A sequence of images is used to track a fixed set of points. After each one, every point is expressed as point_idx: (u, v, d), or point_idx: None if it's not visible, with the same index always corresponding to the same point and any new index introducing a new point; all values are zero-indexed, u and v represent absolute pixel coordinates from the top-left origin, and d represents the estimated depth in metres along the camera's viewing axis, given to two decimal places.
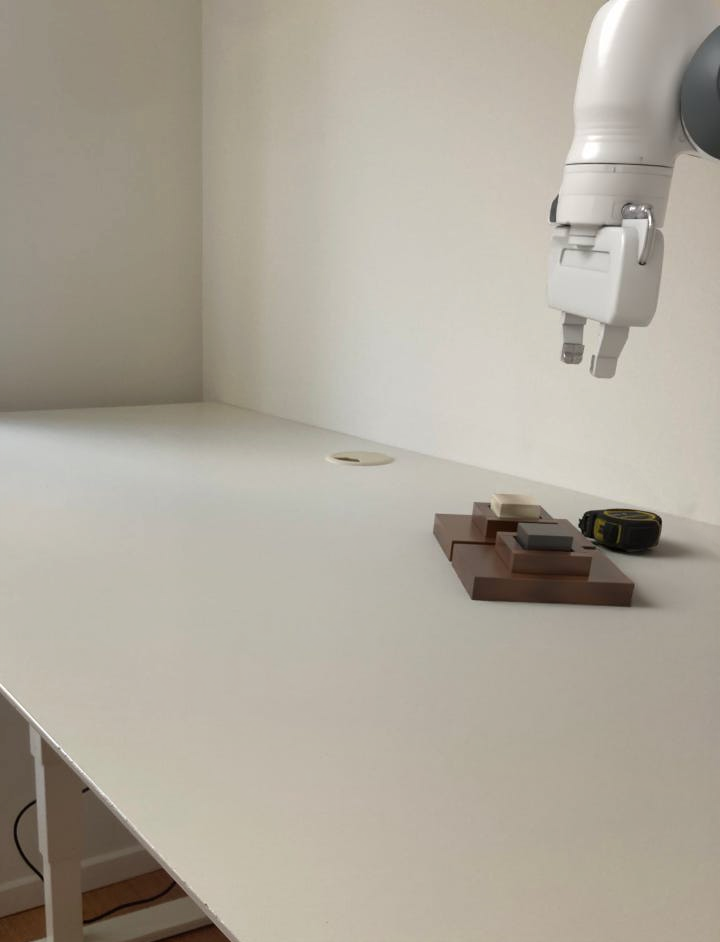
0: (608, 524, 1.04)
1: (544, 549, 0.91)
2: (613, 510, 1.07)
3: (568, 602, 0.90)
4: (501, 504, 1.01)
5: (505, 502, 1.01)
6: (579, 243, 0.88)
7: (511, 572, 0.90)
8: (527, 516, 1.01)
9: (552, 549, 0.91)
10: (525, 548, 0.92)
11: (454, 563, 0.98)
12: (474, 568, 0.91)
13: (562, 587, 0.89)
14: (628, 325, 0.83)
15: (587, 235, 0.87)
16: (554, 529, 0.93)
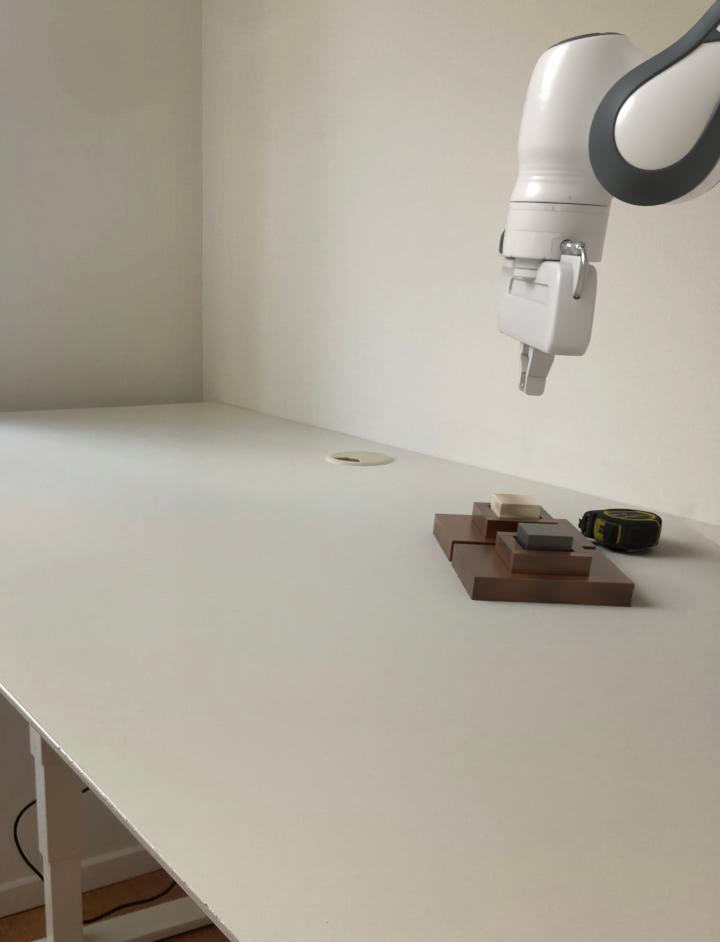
0: (608, 524, 1.04)
1: (544, 549, 0.91)
2: (613, 510, 1.07)
3: (568, 602, 0.90)
4: (501, 504, 1.01)
5: (505, 502, 1.01)
6: (522, 275, 0.93)
7: (511, 572, 0.90)
8: (527, 516, 1.01)
9: (552, 549, 0.91)
10: (525, 548, 0.92)
11: (454, 563, 0.98)
12: (474, 568, 0.91)
13: (562, 587, 0.89)
14: (564, 354, 0.88)
15: (529, 268, 0.93)
16: (554, 529, 0.93)
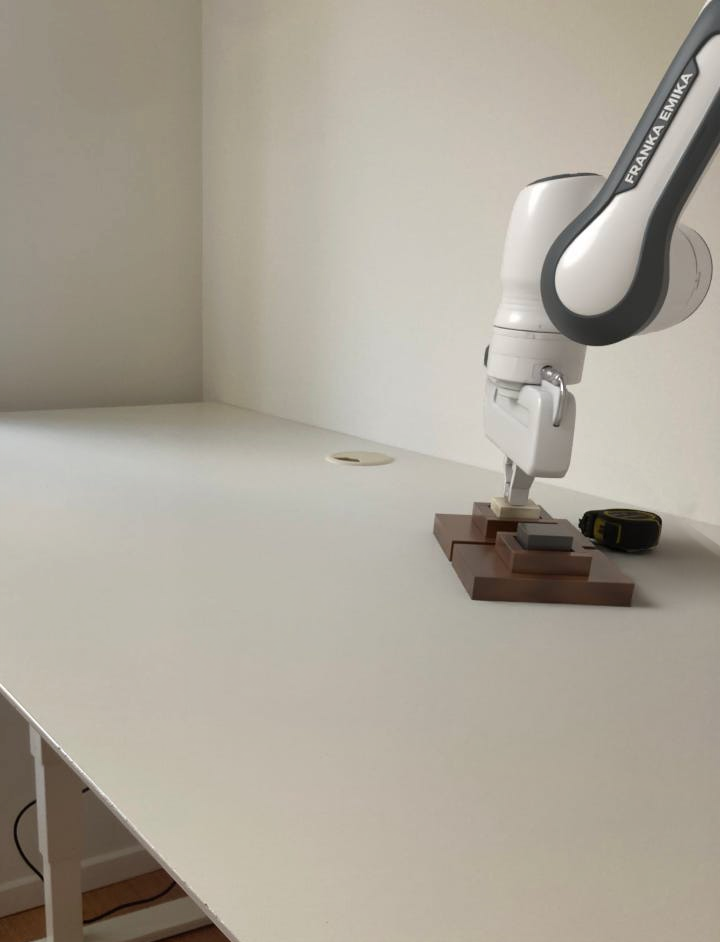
0: (608, 524, 1.04)
1: (544, 549, 0.91)
2: (613, 510, 1.07)
3: (568, 602, 0.90)
4: (500, 508, 1.01)
5: (505, 505, 1.01)
6: (505, 395, 0.97)
7: (511, 572, 0.90)
8: None
9: (552, 549, 0.91)
10: (525, 548, 0.92)
11: (454, 563, 0.98)
12: (474, 568, 0.91)
13: (562, 587, 0.89)
14: (545, 477, 0.92)
15: (512, 389, 0.97)
16: (554, 529, 0.93)
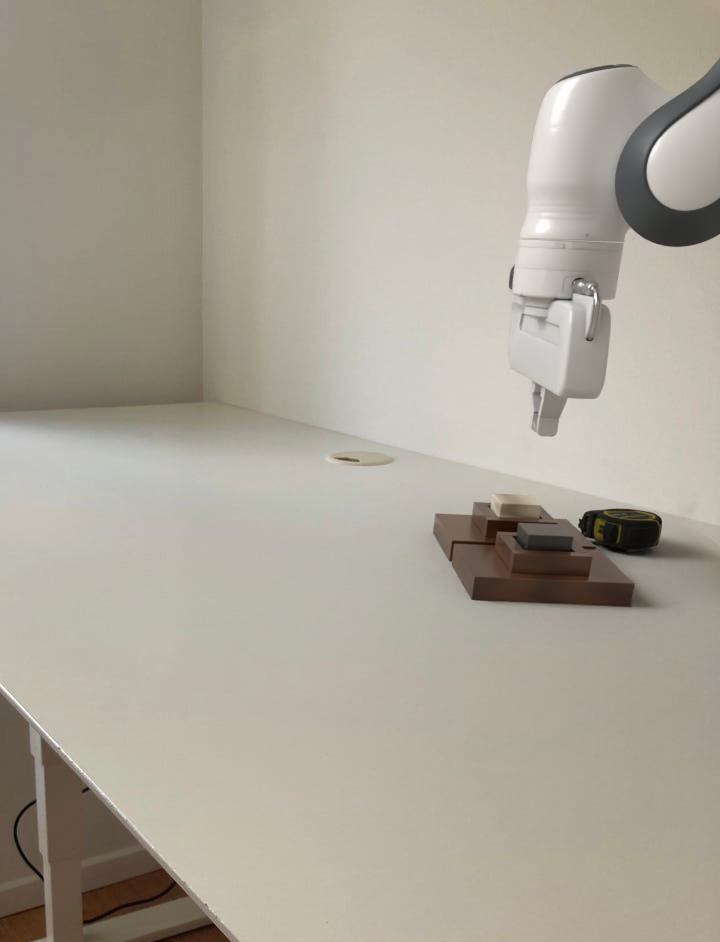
0: (608, 524, 1.04)
1: (544, 549, 0.91)
2: (613, 510, 1.07)
3: (568, 602, 0.90)
4: (501, 504, 1.01)
5: (505, 502, 1.01)
6: (533, 314, 0.90)
7: (511, 572, 0.90)
8: (527, 516, 1.01)
9: (552, 549, 0.91)
10: (525, 548, 0.92)
11: (454, 563, 0.98)
12: (474, 568, 0.91)
13: (562, 587, 0.89)
14: (577, 397, 0.85)
15: (540, 307, 0.89)
16: (554, 529, 0.93)
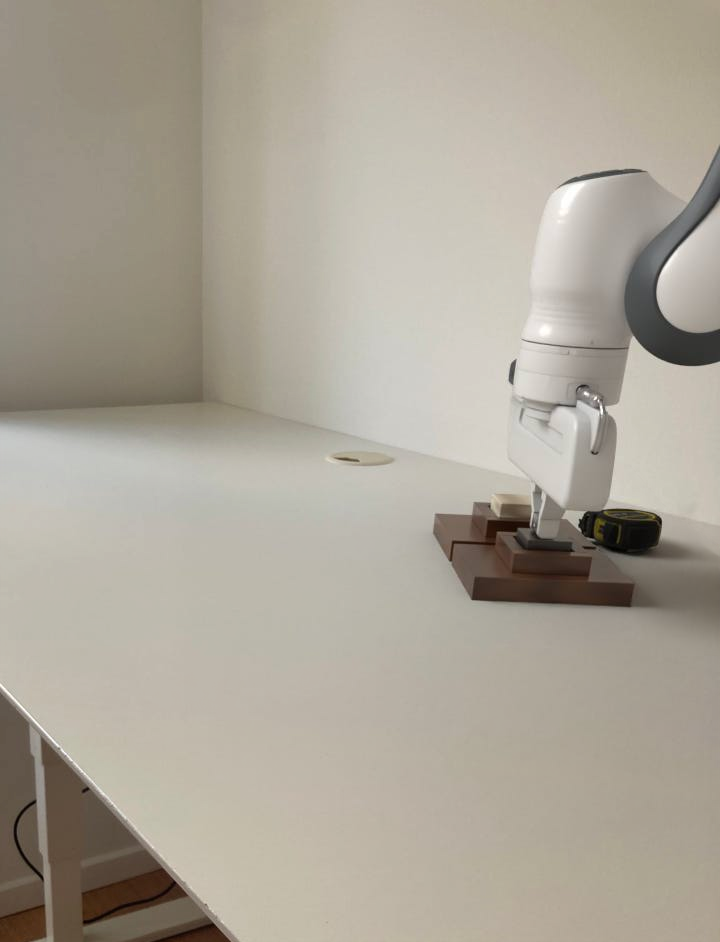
0: (608, 524, 1.04)
1: None
2: (613, 510, 1.07)
3: (568, 602, 0.90)
4: (501, 504, 1.01)
5: (505, 502, 1.01)
6: (534, 417, 0.87)
7: (511, 572, 0.90)
8: (527, 516, 1.01)
9: None
10: None
11: (454, 563, 0.98)
12: (474, 568, 0.91)
13: (562, 587, 0.89)
14: (581, 510, 0.82)
15: (543, 410, 0.86)
16: None
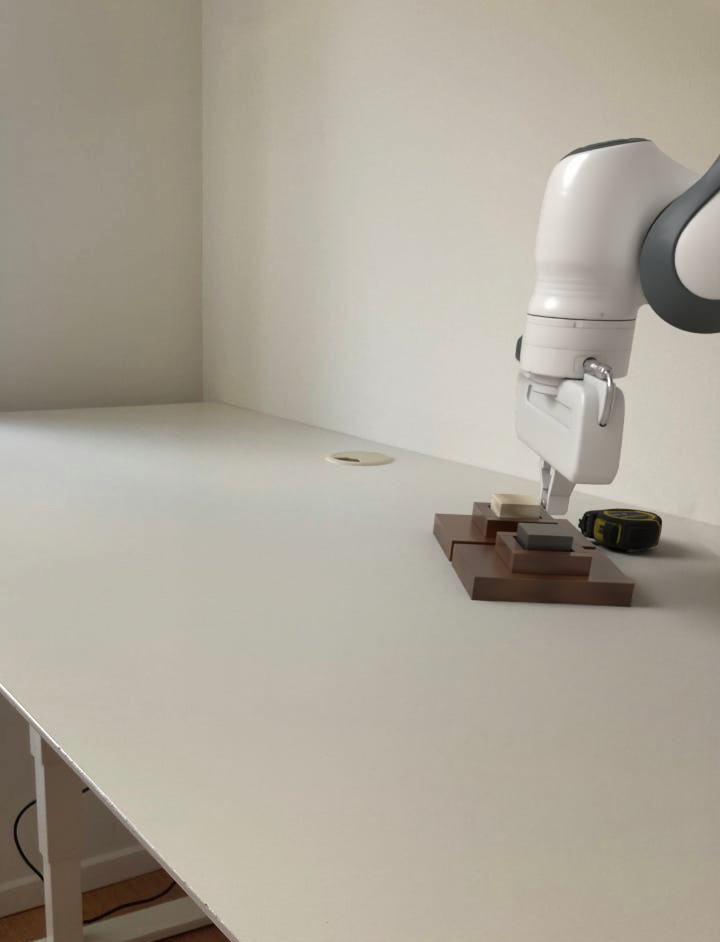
0: (608, 524, 1.04)
1: (544, 549, 0.91)
2: (613, 510, 1.07)
3: (568, 602, 0.90)
4: (501, 504, 1.01)
5: (505, 502, 1.01)
6: (542, 392, 0.87)
7: (511, 572, 0.90)
8: (527, 516, 1.01)
9: (552, 549, 0.91)
10: (525, 548, 0.92)
11: (454, 563, 0.98)
12: (474, 568, 0.91)
13: (562, 587, 0.89)
14: (590, 483, 0.81)
15: (550, 385, 0.86)
16: (554, 529, 0.93)
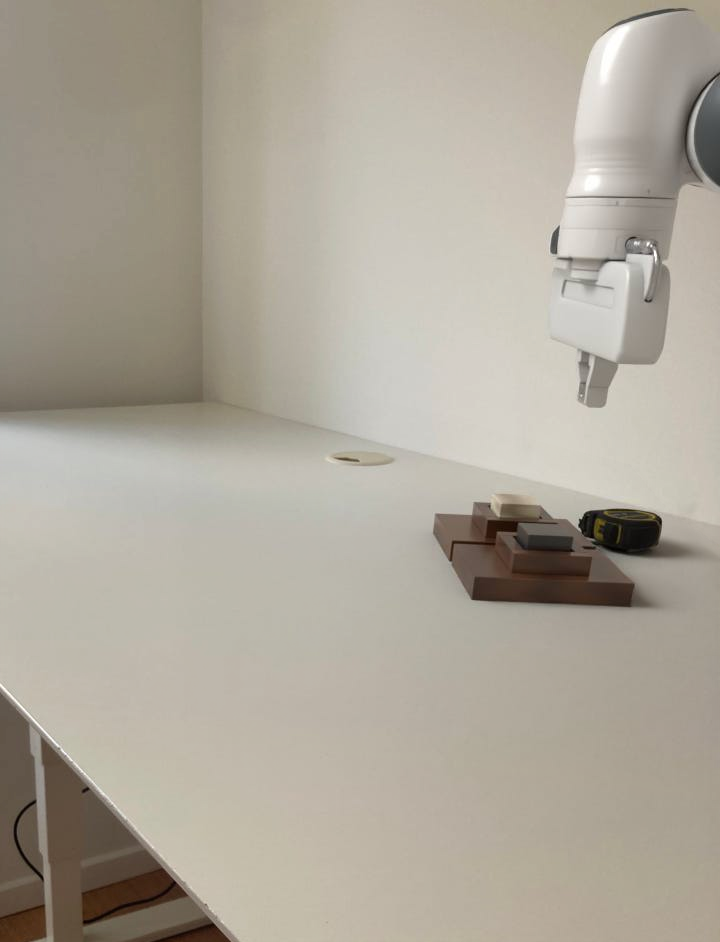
0: (608, 524, 1.04)
1: (544, 549, 0.91)
2: (613, 510, 1.07)
3: (568, 602, 0.90)
4: (501, 504, 1.01)
5: (505, 502, 1.01)
6: (581, 277, 0.85)
7: (511, 572, 0.90)
8: (527, 516, 1.01)
9: (552, 549, 0.91)
10: (525, 548, 0.92)
11: (454, 563, 0.98)
12: (474, 568, 0.91)
13: (562, 587, 0.89)
14: (635, 363, 0.80)
15: (590, 269, 0.84)
16: (554, 529, 0.93)
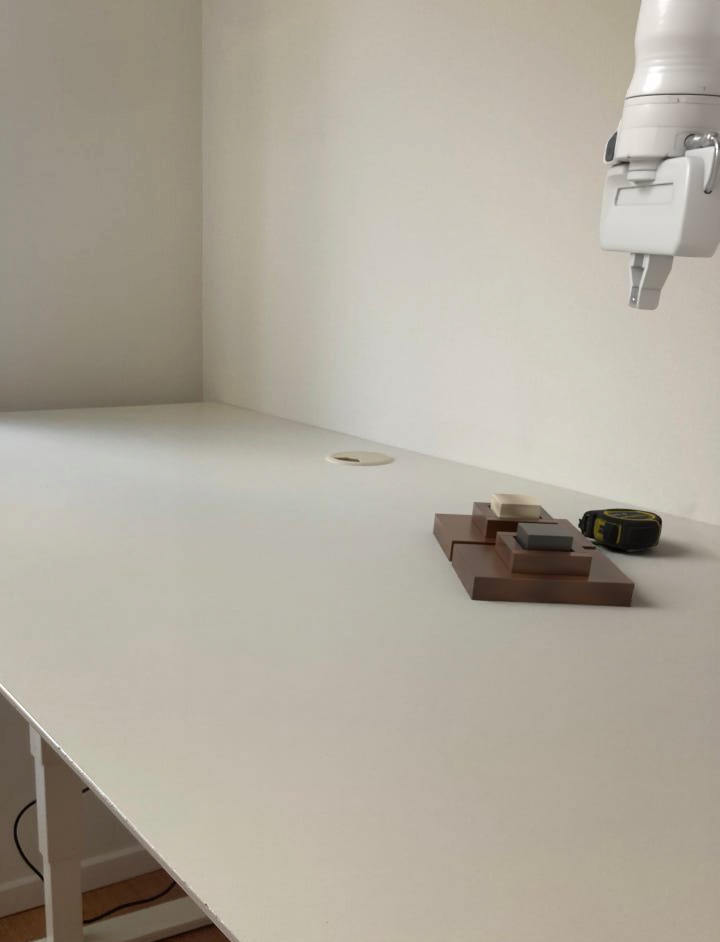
0: (608, 524, 1.04)
1: (544, 549, 0.91)
2: (613, 510, 1.07)
3: (568, 602, 0.90)
4: (501, 504, 1.01)
5: (505, 502, 1.01)
6: (639, 177, 0.87)
7: (511, 572, 0.90)
8: (527, 516, 1.01)
9: (552, 549, 0.91)
10: (525, 548, 0.92)
11: (454, 563, 0.98)
12: (474, 568, 0.91)
13: (562, 587, 0.89)
14: (692, 256, 0.82)
15: (648, 169, 0.87)
16: (554, 529, 0.93)
